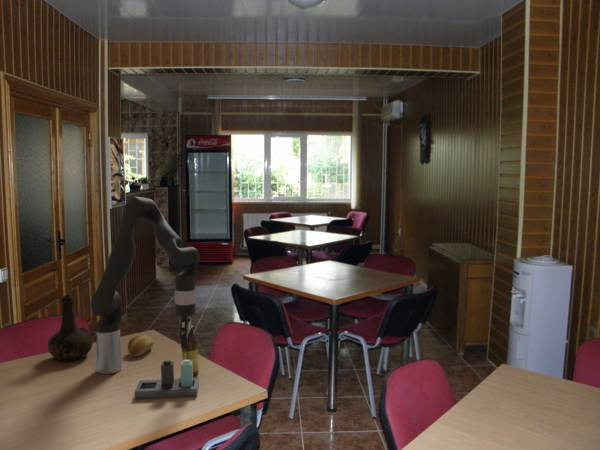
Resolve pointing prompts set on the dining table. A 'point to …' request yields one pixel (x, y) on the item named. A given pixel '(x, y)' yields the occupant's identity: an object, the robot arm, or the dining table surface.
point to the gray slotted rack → (165, 385)
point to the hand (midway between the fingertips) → (185, 344)
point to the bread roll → (139, 345)
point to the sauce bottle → (191, 352)
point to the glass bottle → (69, 335)
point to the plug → (186, 373)
